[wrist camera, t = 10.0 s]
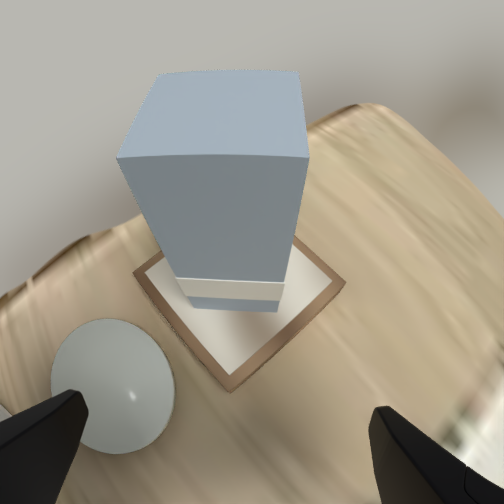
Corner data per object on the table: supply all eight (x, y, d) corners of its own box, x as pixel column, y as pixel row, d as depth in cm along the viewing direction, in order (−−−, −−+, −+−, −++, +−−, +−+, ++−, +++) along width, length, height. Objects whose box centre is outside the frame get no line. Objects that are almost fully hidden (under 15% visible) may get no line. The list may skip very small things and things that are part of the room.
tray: (230, 393, 18) (228, 391, 16) (140, 283, 21) (131, 271, 20) (339, 292, 21) (347, 281, 19) (244, 205, 24) (243, 189, 23)
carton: (277, 313, 18) (311, 159, 7) (193, 309, 18) (114, 159, 7) (278, 245, 20) (299, 71, 9) (201, 242, 21) (157, 73, 9)
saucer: (110, 473, 15) (99, 476, 13) (45, 369, 18) (32, 366, 16) (207, 401, 17) (203, 401, 16) (128, 300, 21) (119, 292, 19)
